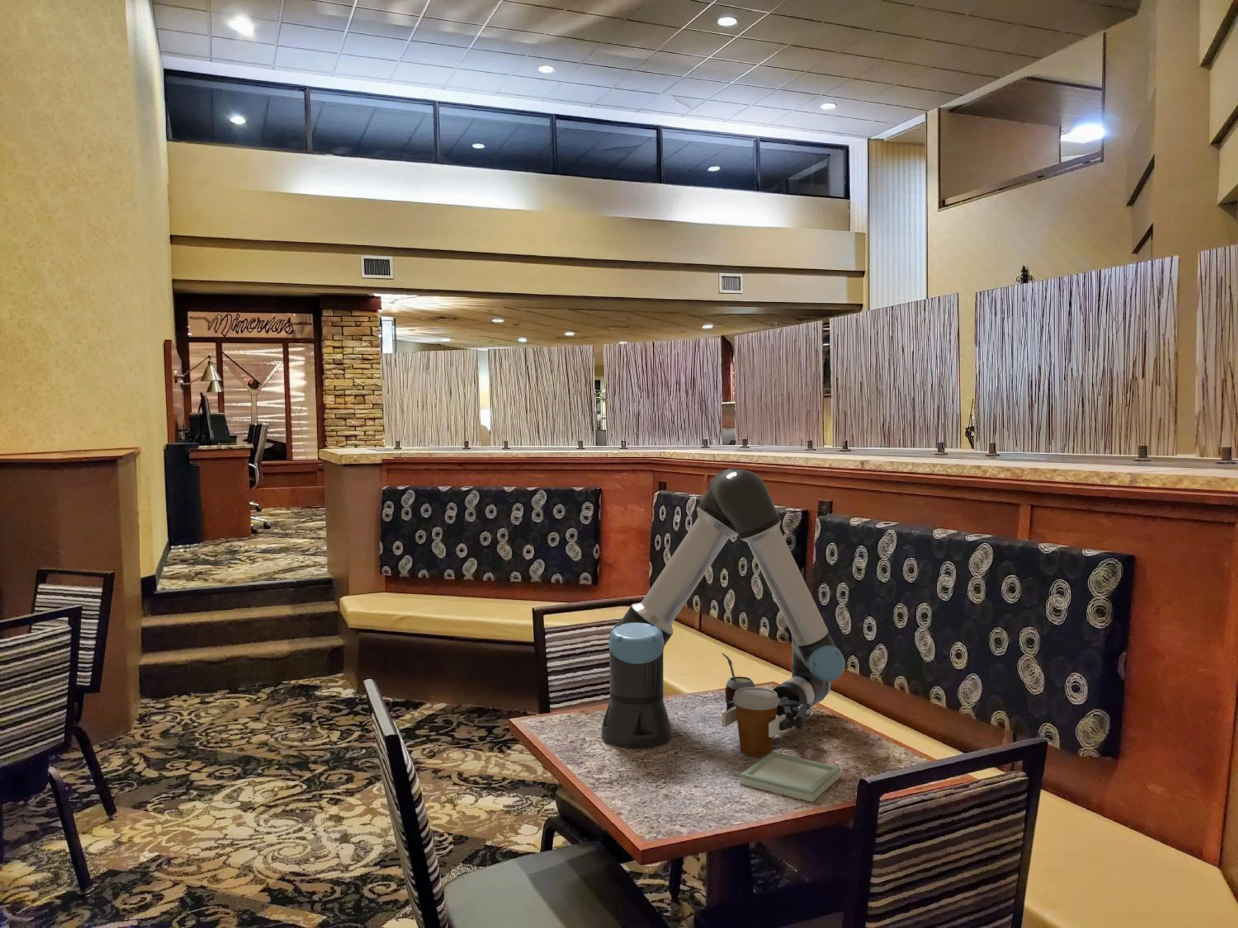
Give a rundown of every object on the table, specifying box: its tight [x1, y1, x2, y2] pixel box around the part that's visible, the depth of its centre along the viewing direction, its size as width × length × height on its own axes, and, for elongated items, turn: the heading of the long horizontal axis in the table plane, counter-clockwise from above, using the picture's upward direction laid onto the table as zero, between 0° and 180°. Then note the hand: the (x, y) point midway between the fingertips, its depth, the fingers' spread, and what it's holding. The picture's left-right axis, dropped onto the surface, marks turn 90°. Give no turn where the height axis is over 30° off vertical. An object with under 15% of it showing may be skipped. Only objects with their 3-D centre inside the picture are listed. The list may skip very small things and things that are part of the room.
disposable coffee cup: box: [733, 686, 780, 757], centre depth 169 cm, size 10×10×12 cm
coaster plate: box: [739, 751, 841, 803], centre depth 154 cm, size 14×14×2 cm
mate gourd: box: [721, 653, 756, 704], centre depth 194 cm, size 8×8×15 cm
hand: (746, 725), depth 166 cm, fingers open, 10 cm apart
